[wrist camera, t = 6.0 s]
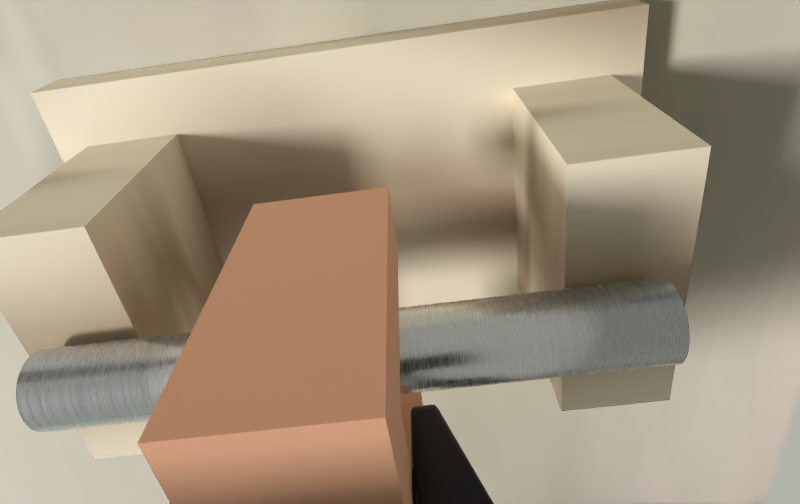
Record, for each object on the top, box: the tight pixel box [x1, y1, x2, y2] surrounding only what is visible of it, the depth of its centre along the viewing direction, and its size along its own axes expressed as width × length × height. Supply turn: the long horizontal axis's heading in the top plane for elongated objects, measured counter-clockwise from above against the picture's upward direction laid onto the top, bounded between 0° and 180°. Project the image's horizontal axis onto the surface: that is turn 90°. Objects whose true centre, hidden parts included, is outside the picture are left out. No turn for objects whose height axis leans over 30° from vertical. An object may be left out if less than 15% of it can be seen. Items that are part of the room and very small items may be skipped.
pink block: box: [137, 187, 423, 504], centre depth 9 cm, size 6×2×5 cm, turn 8°
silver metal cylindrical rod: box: [16, 277, 689, 432], centre depth 11 cm, size 2×12×2 cm, turn 98°
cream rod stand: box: [0, 0, 711, 459], centre depth 14 cm, size 9×15×6 cm, turn 98°
